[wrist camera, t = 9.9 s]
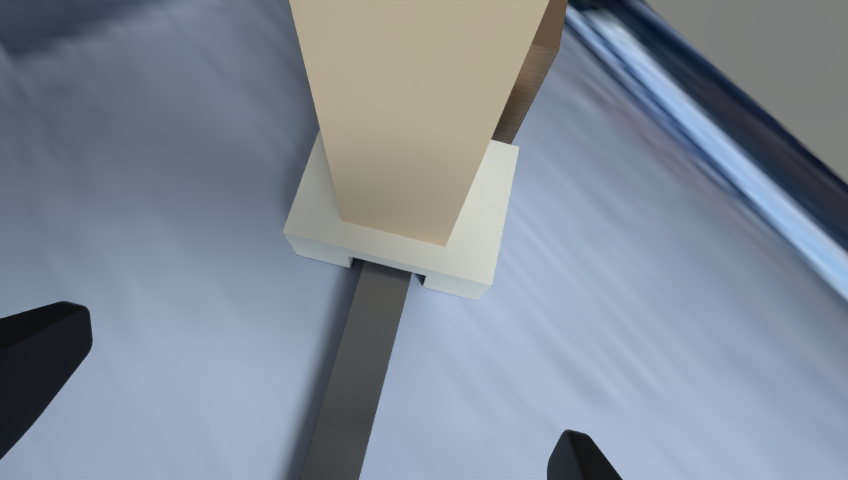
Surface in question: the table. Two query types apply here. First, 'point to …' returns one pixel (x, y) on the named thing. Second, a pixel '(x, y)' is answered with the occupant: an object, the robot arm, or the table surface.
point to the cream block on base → (410, 134)
